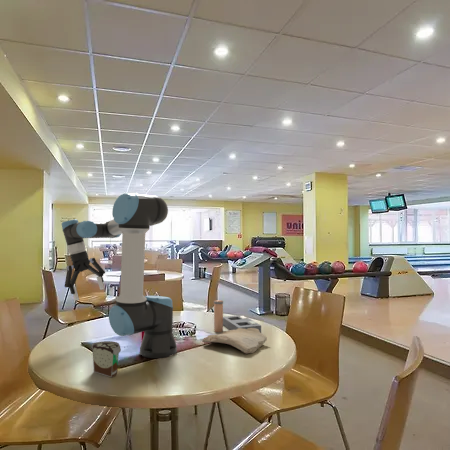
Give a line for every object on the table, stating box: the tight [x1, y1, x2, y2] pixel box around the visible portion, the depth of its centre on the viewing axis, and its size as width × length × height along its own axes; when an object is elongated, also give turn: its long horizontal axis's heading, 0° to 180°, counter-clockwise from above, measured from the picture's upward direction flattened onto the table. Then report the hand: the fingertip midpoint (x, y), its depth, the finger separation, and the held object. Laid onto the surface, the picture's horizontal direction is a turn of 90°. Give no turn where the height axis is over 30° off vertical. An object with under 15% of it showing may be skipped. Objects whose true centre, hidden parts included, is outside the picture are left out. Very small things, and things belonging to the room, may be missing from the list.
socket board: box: [223, 314, 262, 334], centre depth 187 cm, size 24×12×4 cm, turn 20°
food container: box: [91, 340, 122, 378], centre depth 130 cm, size 12×6×10 cm, turn 58°
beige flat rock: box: [201, 328, 268, 354], centre depth 160 cm, size 24×8×20 cm
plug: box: [213, 299, 224, 333], centre depth 183 cm, size 5×5×15 cm
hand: (90, 294), depth 174 cm, fingers open, 13 cm apart
